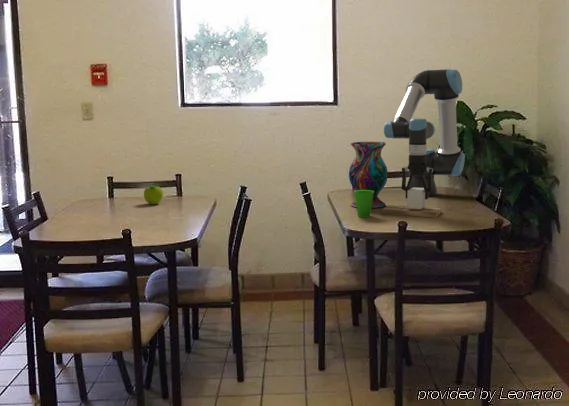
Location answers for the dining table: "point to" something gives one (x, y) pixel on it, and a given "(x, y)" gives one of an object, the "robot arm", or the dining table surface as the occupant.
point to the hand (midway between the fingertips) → (416, 206)
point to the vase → (368, 170)
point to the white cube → (415, 198)
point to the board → (411, 211)
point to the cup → (364, 202)
